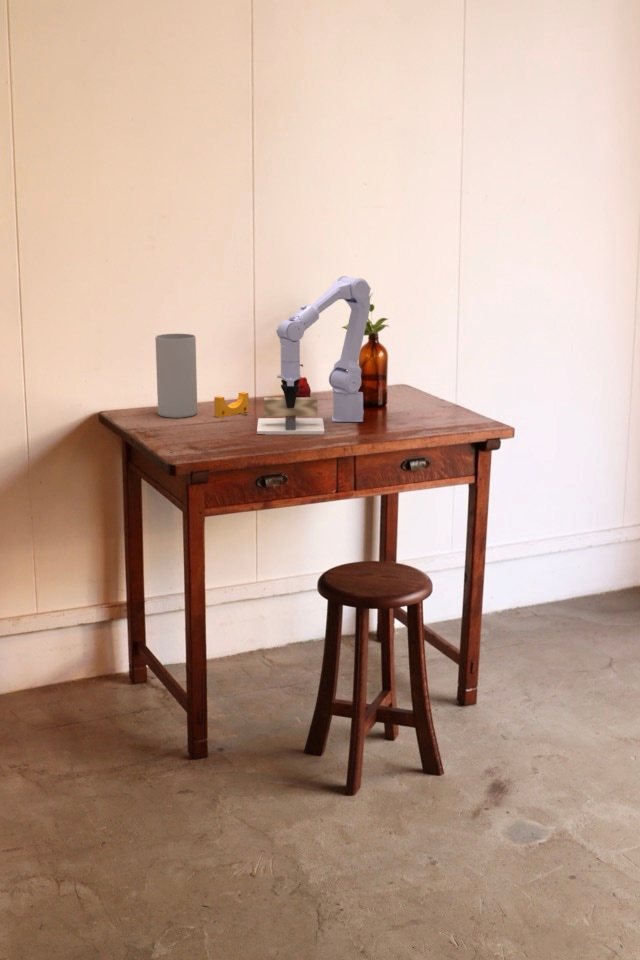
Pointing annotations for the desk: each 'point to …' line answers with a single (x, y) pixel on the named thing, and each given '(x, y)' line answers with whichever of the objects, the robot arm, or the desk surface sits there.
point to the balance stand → (290, 425)
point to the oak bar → (301, 408)
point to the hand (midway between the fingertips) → (290, 405)
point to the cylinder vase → (176, 375)
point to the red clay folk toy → (303, 387)
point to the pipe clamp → (231, 405)
